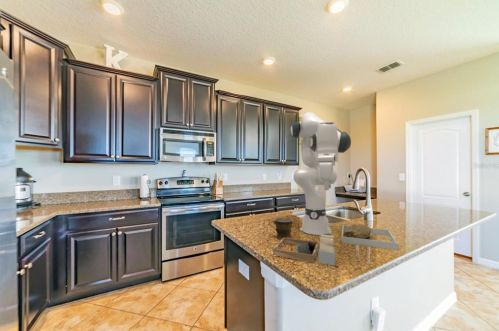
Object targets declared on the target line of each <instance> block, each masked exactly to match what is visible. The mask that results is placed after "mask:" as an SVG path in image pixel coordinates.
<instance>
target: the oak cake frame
mask: <svg viewBox="0 0 499 331" xmlns="http://www.w3.org/2000/svg"><path fill="white" fill-rule="evenodd" d="M308 241H310V242H311V243H313V244H315V246H316V247H315V249H314V252H313V254H312V255H310V254H304V253H298V252H296V251H291V250H286V249H285V250H283V249H282V248H283V247H284V245H288V244H292V245H291V246H295V245H298V244H306V243H307V242H308ZM284 243H286V244H284ZM283 244H284V245H283ZM281 247H282V248H281ZM280 248H281V249H280ZM319 248H320V241H313V240H306V239H297V238H291V237H290V238H283V239H280V241H279V242H278V243H277V244H276V245H275V246H274V247H273V248H272V256H273V255H276V256H283V257H288V258H293V259H297V260H296V261H298V260H302V261H301V262H304V261H308V262H307V263H310V262H313V263H312V264H314V263H315V262H316V258H317V256H318V251H319ZM279 249H280V250H279ZM293 259H292V260H293Z"/></svg>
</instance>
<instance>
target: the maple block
mask: <svg viewBox="0 0 499 331" xmlns="http://www.w3.org/2000/svg"><path fill="white" fill-rule="evenodd" d="M319 248H320V251H326V252H333V251H334V248H335V236H334V235H329V234H325V235H320V237H319Z"/></svg>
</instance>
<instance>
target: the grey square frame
mask: <svg viewBox="0 0 499 331" xmlns="http://www.w3.org/2000/svg"><path fill="white" fill-rule="evenodd" d="M350 226H351V225H344V224H343V225H342V229H341V243H343V244H351V245H357V246H364V247H374V248H380V249H381V248H382V249H389V250H390V249H391V250H399V243H398V241H397V240H396V239H395V237H394V236H393V234H392V233H391V231H390V230H389V229H383V228H376V227H375V228H373V227H372V228H371V227H369V228H370V229H371V234H372V235H379V236H380V235H381V236H382V235H383V236H387V237H388V238H389V240H390V241H384V240H383V241H382V240H376V239H368V238H365V239H359V238H351V237H346V236H344V234H343V233H344V232H346V231H347V230H348V229H349V227H350Z"/></svg>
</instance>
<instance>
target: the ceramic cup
mask: <svg viewBox="0 0 499 331" xmlns="http://www.w3.org/2000/svg"><path fill="white" fill-rule="evenodd" d="M293 221H294V220H293V219H292V218H289V217H277V218H274V220H270V221H269V223H268V225H269V226H270V227H272V228H273V229H274V231H276V235H277V239H279V238H280V239H279V240H282V239H283V238H291V233H292V227H293ZM271 222H272V223H273V224H274V226H273V225H272V224H271Z"/></svg>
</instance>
